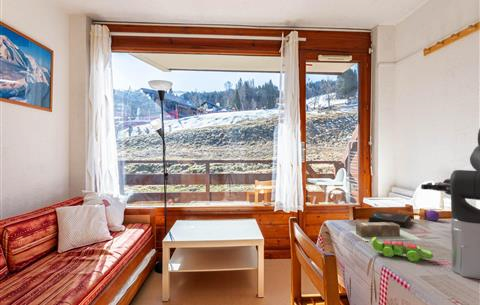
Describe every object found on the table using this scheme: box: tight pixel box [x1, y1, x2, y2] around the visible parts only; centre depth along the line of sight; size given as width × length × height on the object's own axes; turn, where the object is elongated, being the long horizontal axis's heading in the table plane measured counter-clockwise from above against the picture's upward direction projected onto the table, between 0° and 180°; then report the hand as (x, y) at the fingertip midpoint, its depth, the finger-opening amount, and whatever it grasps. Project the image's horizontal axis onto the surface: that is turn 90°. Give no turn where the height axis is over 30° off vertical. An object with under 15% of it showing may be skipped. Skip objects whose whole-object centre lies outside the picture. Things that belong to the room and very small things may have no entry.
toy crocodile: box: [370, 237, 434, 263], centre depth 98 cm, size 20×7×6 cm, turn 60°
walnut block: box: [355, 222, 401, 237], centre depth 121 cm, size 5×5×18 cm
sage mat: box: [349, 229, 423, 242], centre depth 121 cm, size 26×14×1 cm, turn 93°
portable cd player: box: [367, 210, 412, 229], centre depth 143 cm, size 16×17×4 cm
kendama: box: [397, 209, 440, 222], centre depth 151 cm, size 6×6×20 cm
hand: (422, 186), depth 122 cm, fingers closed
